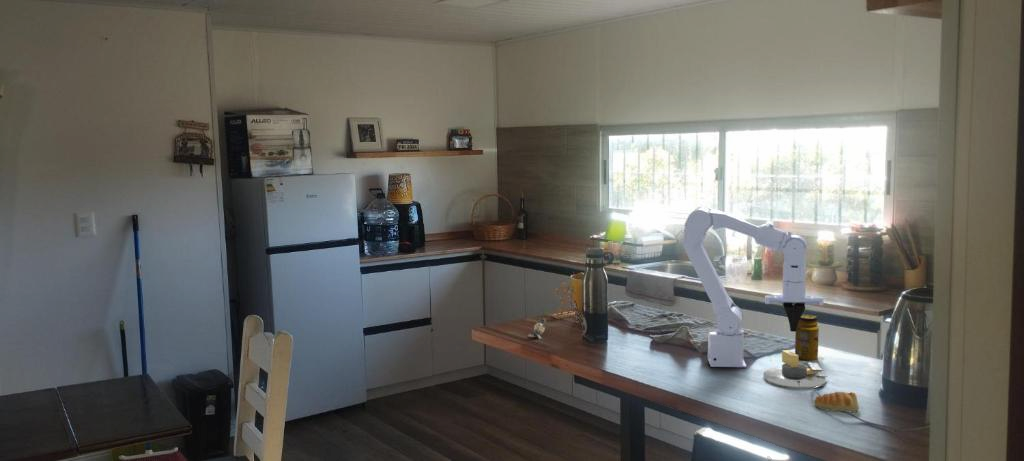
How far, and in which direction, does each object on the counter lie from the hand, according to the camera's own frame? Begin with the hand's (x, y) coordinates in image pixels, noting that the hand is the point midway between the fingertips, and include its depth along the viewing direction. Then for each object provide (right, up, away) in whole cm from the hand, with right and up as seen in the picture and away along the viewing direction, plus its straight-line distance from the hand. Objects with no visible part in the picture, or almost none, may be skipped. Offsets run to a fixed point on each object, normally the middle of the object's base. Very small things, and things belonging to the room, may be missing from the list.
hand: (793, 330), depth 209 cm
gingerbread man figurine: (-56, -4, +66) cm, 87 cm away
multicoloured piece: (-1, -10, -7) cm, 12 cm away
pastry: (0, -15, -28) cm, 32 cm away
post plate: (-3, -12, -8) cm, 14 cm away
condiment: (+7, -9, +10) cm, 15 cm away
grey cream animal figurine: (-66, -7, +41) cm, 78 cm away
